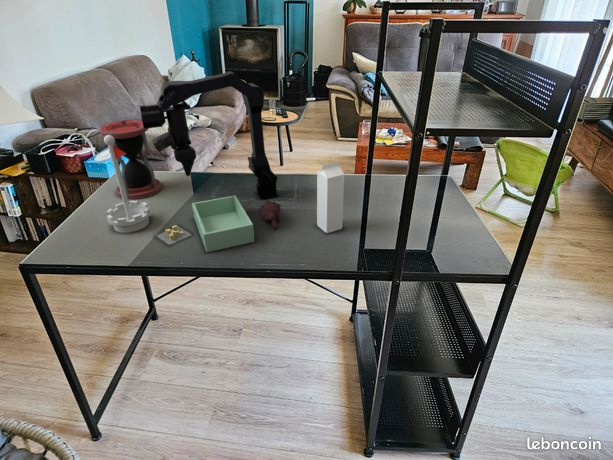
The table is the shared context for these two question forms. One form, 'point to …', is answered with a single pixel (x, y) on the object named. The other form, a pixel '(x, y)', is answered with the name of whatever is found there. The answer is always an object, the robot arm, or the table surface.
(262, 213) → the icecream
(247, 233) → the green open box
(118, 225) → the flag stand
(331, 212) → the milk
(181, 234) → the dice set
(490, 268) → the table surface
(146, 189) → the hourglass
